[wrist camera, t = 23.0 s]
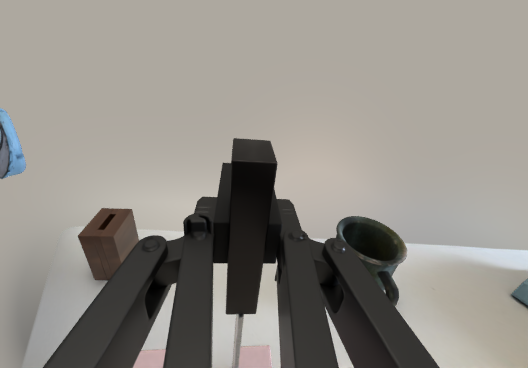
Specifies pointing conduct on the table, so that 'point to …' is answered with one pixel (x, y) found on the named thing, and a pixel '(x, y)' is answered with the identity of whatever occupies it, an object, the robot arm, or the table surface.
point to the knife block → (108, 241)
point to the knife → (248, 227)
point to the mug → (375, 250)
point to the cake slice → (255, 357)
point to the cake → (150, 359)
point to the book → (522, 292)
